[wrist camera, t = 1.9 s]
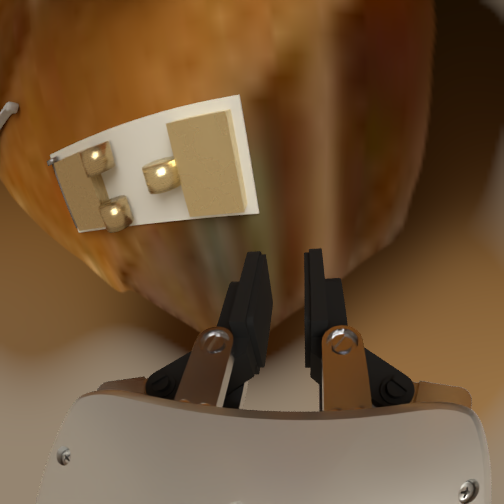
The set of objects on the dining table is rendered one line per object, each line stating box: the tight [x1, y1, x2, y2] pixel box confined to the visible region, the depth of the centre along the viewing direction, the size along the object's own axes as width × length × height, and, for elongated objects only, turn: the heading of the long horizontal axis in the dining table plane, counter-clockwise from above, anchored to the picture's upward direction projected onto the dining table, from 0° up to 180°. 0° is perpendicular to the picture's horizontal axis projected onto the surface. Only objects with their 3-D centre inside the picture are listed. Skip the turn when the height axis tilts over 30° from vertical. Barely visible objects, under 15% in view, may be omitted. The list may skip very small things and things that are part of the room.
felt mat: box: [50, 95, 259, 233], centre depth 34 cm, size 15×32×1 cm, turn 99°
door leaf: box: [142, 109, 248, 217], centre depth 30 cm, size 12×11×4 cm
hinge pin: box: [47, 156, 78, 228], centre depth 36 cm, size 13×2×2 cm, turn 9°
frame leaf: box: [54, 140, 134, 233], centre depth 33 cm, size 12×11×4 cm
